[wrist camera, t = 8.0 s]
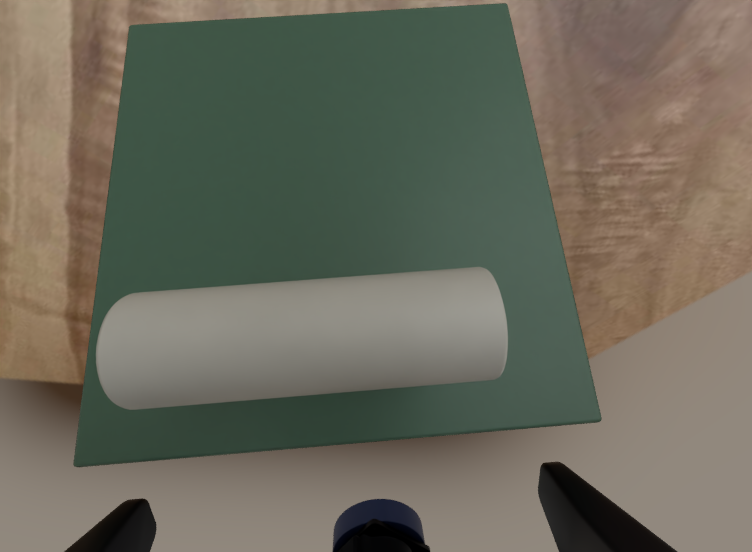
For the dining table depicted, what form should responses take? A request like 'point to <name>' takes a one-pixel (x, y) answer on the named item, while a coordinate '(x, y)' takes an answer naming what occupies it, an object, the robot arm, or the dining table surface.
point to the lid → (327, 241)
